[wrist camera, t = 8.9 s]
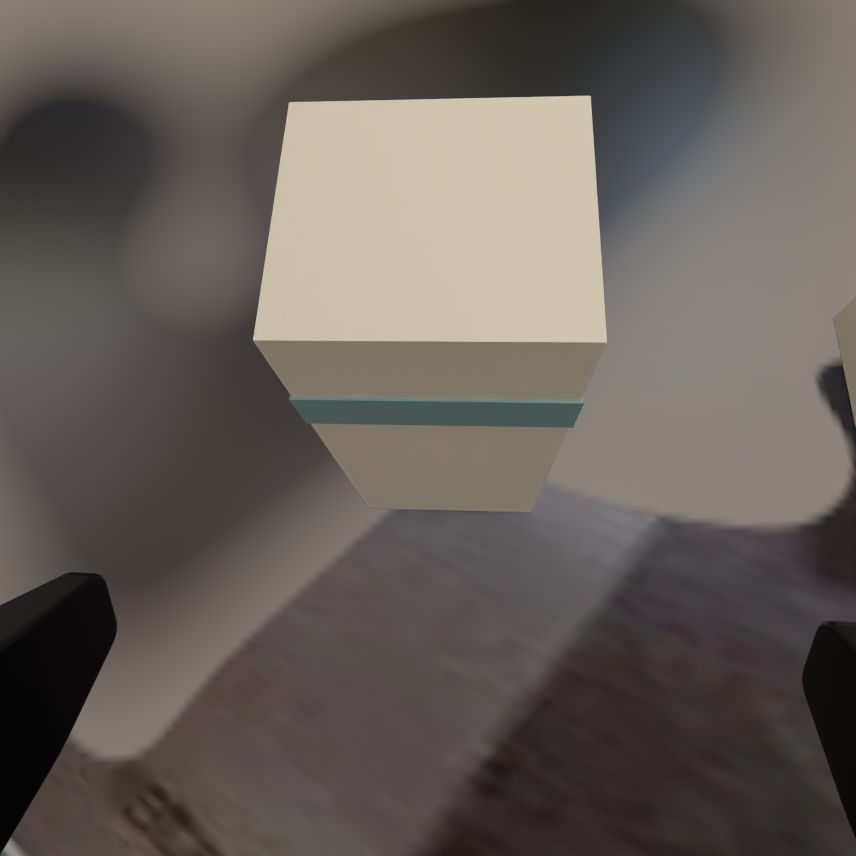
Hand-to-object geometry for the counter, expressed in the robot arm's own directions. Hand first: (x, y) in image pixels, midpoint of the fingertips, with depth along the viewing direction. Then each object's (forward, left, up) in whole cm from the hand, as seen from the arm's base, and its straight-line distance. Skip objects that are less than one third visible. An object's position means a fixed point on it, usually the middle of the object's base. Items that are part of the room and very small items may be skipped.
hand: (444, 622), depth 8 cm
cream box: (+5, +4, -11) cm, 12 cm away
